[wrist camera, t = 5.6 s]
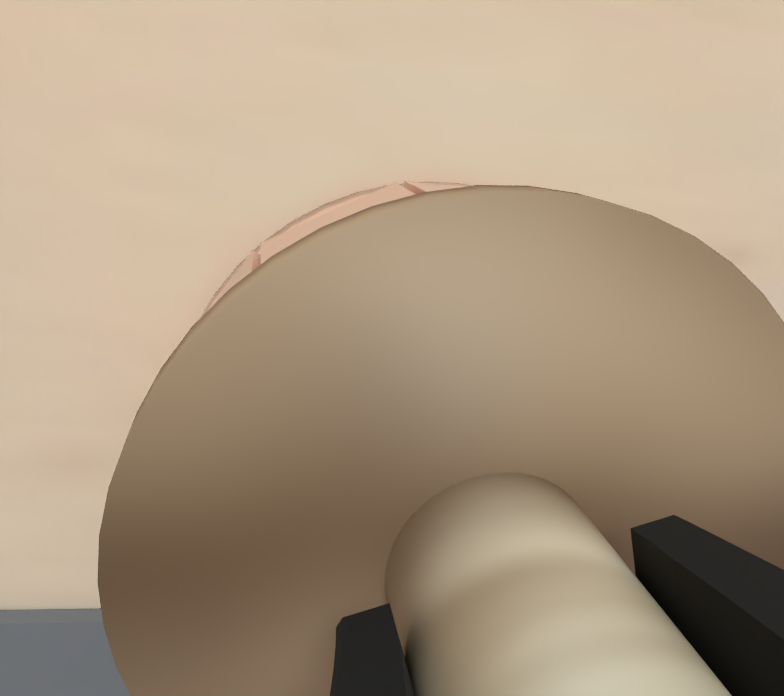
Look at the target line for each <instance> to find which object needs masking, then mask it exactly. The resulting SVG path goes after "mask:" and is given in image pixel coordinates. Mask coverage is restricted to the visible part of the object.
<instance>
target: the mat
mask: <svg viewBox="0 0 784 696" xmlns="http://www.w3.org/2000/svg"><path fill="white" fill-rule="evenodd" d="M0 696H131V695H130V693H129V691H128V689H127V687H126V685H125V683H124V681H123V679H122V677H121V675H120V673H119V672H118V670H117V668H116V665H115V661H114V658H113V655H112V652H111V649H110V645H109V642H108V639H107V636H106V632H105V629H104V626H103V618H102V611H101V609H50V610H0Z"/></svg>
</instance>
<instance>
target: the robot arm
mask: <svg viewBox="0 0 784 696" xmlns="http://www.w3.org/2000/svg"><path fill="white" fill-rule="evenodd" d="M630 530H631V539H632V548H633V557H634V566H635V575H636V577H637V578H638V580H639V581H640V582H641V583H642V585H643V586H644V587H645V588H646V590H647V591H648V592H649V593H650V595H651V596H652V597H653V598H654V600H655V601H656V602H657V603H658V605H659V606H660V607H661V608H662V609H663V611H664V612H665V613H666V614H667V616H668V617H669V618H670V619H671V621H672V622H673V623H674V624H675V626H676V627H677V628H678V629H679V631H680V632H681V633H682V634H683V636H684V637H685V638H686V639H687V641H688V642H689V643H690V644H691V646H692V647H693V648H694V649H695V651H696V652H697V653H698V654H699V656H700V657H701V658H702V659H703V660H704V662H705V663H706V664H707V665H708V667H709V668H710V669H711V670H712V672H713V673H714V674H715V675H716V677H717V678H718V679H719V680H720V682H721V683H722V684H723V685H724V687H725V688H726V689H727V690H728V692H729V693H730V694H731V695H732V696H784V570H783V569H781V568H779V567H777V566H775V565H773V564H771V563H769V562H767V561H765V560H763V559H761V558H759V557H757V556H755V555H753V554H751V553H749V552H747V551H745V550H743V549H742V548H740V547H738V546H736V545H734V544H732V543H730V542H728V541H726V540H724V539H722V538H720V537H718V536H716V535H714V534H712V533H710V532H708V531H706V530H704V529H702V528H700V527H698V526H696V525H694V524H692V523H690V522H688V521H686V520H684V519H682V518H680V517H678V516H676V515H672V516H668V517H665V518H662V519H659V520H655V521H652V522H649V523H646V524H643V525H639V526H636V527H633V528H630ZM330 696H415V695H414V691H413V687H412V683H411V680H410V676H409V672H408V668H407V665H406V661H405V657H404V653H403V650H402V646H401V643H400V639H399V635H398V632H397V628H396V625H395V621H394V617H393V614H392V610H391V607H390V603H388V604H385V605H381V606H378V607H375V608H372V609H369V610H365V611H362V612H359V613H356V614H352V615H349V616H346V617H343V618H342V619H341V621H340V622H339V624H338V625H337V627H336V645H335V657H334V668H333V676H332V683H331V690H330Z"/></svg>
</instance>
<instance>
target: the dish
mask: <svg viewBox="0 0 784 696" xmlns="http://www.w3.org/2000/svg"><path fill="white" fill-rule="evenodd" d="M467 186H470V185H465V184H459V183H440V182H409V181H405V183H404V184H396V183H393V184H391V185H388V186H383V187H379V188H374V189H370V190H366V191H361V192H357V193H354V194H351V195H349V196H346V197H343V198H340V199H338V200H335V201H332V202H330V203H327V204H324V205H322V206H320V207H318V208H316V209H315V210H313V211H311V212H309V213H307V214H305V215H303V216H301V217H300V218H298V219H296V220H294V221H292V222H290V223H289V224H288V225H286V226H285V227H283V228H282V229H281V230H279V231H278V232H276V233H275V234H274V235H272V236H271V237H270V238H268V239H267V240H265V241H264V242H262V243H260V245H259V246H258V247H257V248H256V249H255V250H252V251H251V253H250V254H249V255H248V257H247V258H246V259H244V260H243V261H242V262H241V263H240V264H239V265H238V266H237V267H236V268H235V270H234V271H233V272H232V273H231V275H230V276H229V277H228V278H227V279H226V281H225V282H224V283H223V284H222V286H221V287H220V288H219V289H218V291H217V292H216V293H215V295H214V296H213V298H212V300H211V301H210V303H209V305H208V306H207V308H206V310H205V311H204V313H203V315H204V314H205V313H206V312H207V311H208V310H209V309H210V308H211V307H212V306H213V305H214V304H215V303H216V302H217V301H218V300H219V299H220V298H221V297H222V296H223V295H224V294H225V293H226V292H227V291H228V290H229V289H230V288H231V287H233V286H234V285H235V284H236V283H238V282H239V281H240V280H242V279H243V278H244V277H245V276H247V275H248V274H249V273H251V272H252V271H253V270H254V269H256V268H257V267H258V266H260V265H261V264H262V263H264V262H265V261H266V260H267V259H269V258H270V257H271V256H273V255H274V254H276V253H278V252H279V251H281V250H283V249H285V248H286V247H288V246H290V245H291V244H293V243H295V242H297V241H298V240H300V239H302V238H303V237H305V236H307V235H309V234H310V233H312V232H314V231H315V230H317V229H319V228H321V227H323V226H325V225H328V224H330V223H333V222H335V221H337V220H340V219H342V218H345V217H347V216H349V215H352V214H354V213H357V212H359V211H361V210H364V209H366V208H369V207H371V206H374V205H378V204H382V203H385V202H389V201H393V200H397V199H400V198H404V197H408V196H411V195H415V194H419V193H423V192H429V191H437V190H444V189H452V188H460V187H467ZM203 315H202V316H203ZM202 316H201V317H202Z"/></svg>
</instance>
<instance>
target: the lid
mask: <svg viewBox="0 0 784 696" xmlns="http://www.w3.org/2000/svg"><path fill="white" fill-rule="evenodd" d="M672 515H676V516H678V517H680V518H682V519H684V520H686V521H688V522H690V523H692V524H694V525H696V526H698V527H700V528H702V529H704V530H706V531H708V532H710V533H712V534H714V535H716V536H718V537H720V538H722V539H724V540H726V541H728V542H730V543H732V544H734V545H736V546H738V547H740V548H742V549H743V550H745V551H747V552H749V553H751V554H753V555H755V556H757V557H759V558H761V559H763V560H765V561H767V562H769V563H771V564H773V565H775V566H777V567H779V568H781V569H783V570H784V322H783V321H782V319H781V318H780V316H779V315H778V314H777V312H776V311H775V309H774V308H773V307H772V305H771V304H770V303H769V301H768V300H767V298H766V297H765V296H764V294H763V293H762V292H761V291H760V290H759V289H758V288H757V287H756V286H755V285H754V284H753V283H752V282H751V281H750V280H749V279H748V278H747V277H746V276H745V275H744V274H743V273H742V272H741V271H740V270H739V269H738V268H737V267H736V266H735V265H734V264H733V263H732V262H730V261H729V260H727V259H726V258H725V257H723V256H722V255H720V254H719V253H717V252H716V251H715V250H713V249H712V248H710V247H709V246H708V245H706V244H705V243H703V242H702V241H701V240H699V239H698V238H696V237H695V236H693V235H691V234H689V233H687V232H685V231H683V230H681V229H678V228H676V227H674V226H672V225H670V224H668V223H666V222H664V221H662V220H660V219H658V218H656V217H654V216H652V215H649V214H646V213H642V212H639V211H636V210H633V209H629V208H626V207H623V206H620V205H616V204H613V203H610V202H607V201H603V200H600V199H596V198H592V197H589V196H585V195H581V194H578V193H572V192H565V191H559V190H552V189H546V188H539V187H533V186H497V185H475V186H467V187H460V188H452V189H444V190H437V191H429V192H423V193H419V194H415V195H411V196H408V197H404V198H400V199H397V200H393V201H389V202H385V203H382V204H378V205H374V206H371V207H369V208H366V209H364V210H361V211H359V212H357V213H354V214H352V215H349V216H347V217H345V218H342V219H340V220H337V221H335V222H333V223H330V224H328V225H325V226H323V227H321V228H319V229H317V230H315V231H314V232H312V233H310V234H309V235H307V236H305V237H303V238H302V239H300V240H298V241H297V242H295V243H293V244H291V245H290V246H288V247H286V248H285V249H283V250H281V251H279V252H278V253H276V254H274V255H273V256H271V257H270V258H269V259H267V260H266V261H265V262H264V263H262V264H261V265H260V266H258V267H257V268H256V269H254V270H253V271H252V272H251V273H249V274H248V275H247V276H245V277H244V278H243V279H242V280H240V281H239V282H238V283H236V284H235V285H234V286H233V287H231V288H230V289H229V290H228V291H227V292H226V293H225V294H224V295H223V296H222V297H221V298H220V299H219V300H218V301H217V302H216V303H215V304H214V305H213V306H212V307H211V308H210V309H209V310H208V311H207V312H206V313H205V314H204V315H203V316H202V317H201V318H200V319H199V320H198V321H197V322H196V323H195V324H194V325H193V326H192V328H191V329H190V330H189V332H188V333H187V334H186V336H185V337H184V338H183V340H182V341H181V342H180V344H179V345H178V346H177V348H176V349H175V350H174V352H173V353H172V354H171V356H170V357H169V358H168V360H167V361H166V363H165V364H164V365H163V367H162V368H161V369H160V371H159V373H158V375H157V377H156V379H155V380H154V382H153V384H152V386H151V388H150V390H149V391H148V393H147V395H146V397H145V399H144V401H143V403H142V404H141V406H140V408H139V410H138V412H137V414H136V416H135V419H134V421H133V424H132V426H131V429H130V431H129V434H128V436H127V439H126V442H125V444H124V447H123V450H122V453H121V455H120V458H119V461H118V464H117V466H116V469H115V472H114V474H113V477H112V480H111V483H110V485H109V489H108V494H107V499H106V504H105V509H104V514H103V519H102V524H101V529H100V534H99V558H98V588H99V596H100V603H101V611H102V618H103V626H104V629H105V632H106V636H107V639H108V642H109V645H110V649H111V652H112V655H113V658H114V661H115V665H116V668H117V670H118V672H119V673H120V675H121V677H122V679H123V681H124V683H125V685H126V687H127V689H128V691H129V693H130V695H131V696H330V690H331V683H332V676H333V668H334V657H335V645H336V627H337V625H338V624H339V622H340V621H341V619H342V618H343V617H346V616H349V615H352V614H356V613H359V612H362V611H365V610H369V609H372V608H375V607H378V606H381V605H385V604H388V603H390V607H391V610H392V614H393V617H394V621H395V625H396V628H397V632H398V635H399V639H400V643H401V646H402V650H403V653H404V657H405V661H406V665H407V668H408V672H409V676H410V680H411V683H412V687H413V691H414V695H415V696H732V695H731V694H730V693H729V692H728V690H727V689H726V688H725V687H724V685H723V684H722V683H721V682H720V680H719V679H718V678H717V677H716V675H715V674H714V673H713V672H712V670H711V669H710V668H709V667H708V665H707V664H706V663H705V662H704V660H703V659H702V658H701V657H700V656H699V654H698V653H697V652H696V651H695V649H694V648H693V647H692V646H691V644H690V643H689V642H688V641H687V639H686V638H685V637H684V636H683V634H682V633H681V632H680V631H679V629H678V628H677V627H676V626H675V624H674V623H673V622H672V621H671V619H670V618H669V617H668V616H667V614H666V613H665V612H664V611H663V609H662V608H661V607H660V606H659V605H658V603H657V602H656V601H655V600H654V598H653V597H652V596H651V595H650V593H649V592H648V591H647V590H646V588H645V587H644V586H643V585H642V583H641V582H640V581H639V580H638V578H637V577H636V575H635V566H634V557H633V548H632V539H631V530H630V528H633V527H636V526H639V525H643V524H646V523H649V522H652V521H655V520H659V519H662V518H665V517H668V516H672Z"/></svg>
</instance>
